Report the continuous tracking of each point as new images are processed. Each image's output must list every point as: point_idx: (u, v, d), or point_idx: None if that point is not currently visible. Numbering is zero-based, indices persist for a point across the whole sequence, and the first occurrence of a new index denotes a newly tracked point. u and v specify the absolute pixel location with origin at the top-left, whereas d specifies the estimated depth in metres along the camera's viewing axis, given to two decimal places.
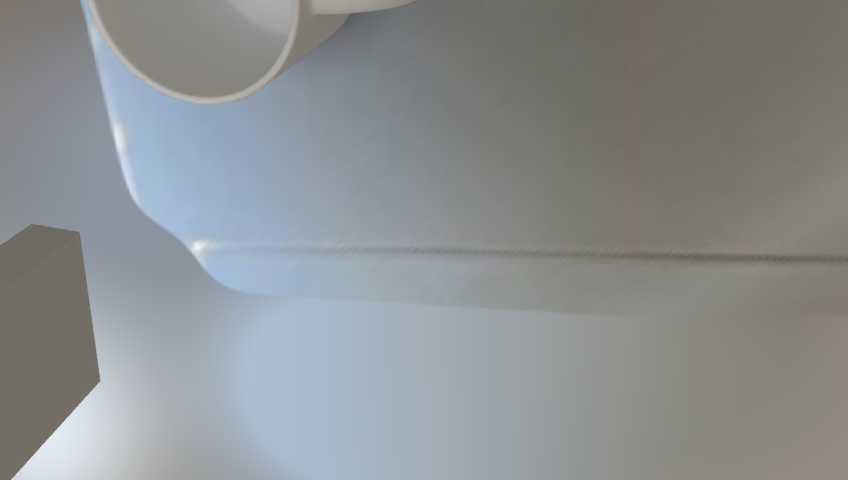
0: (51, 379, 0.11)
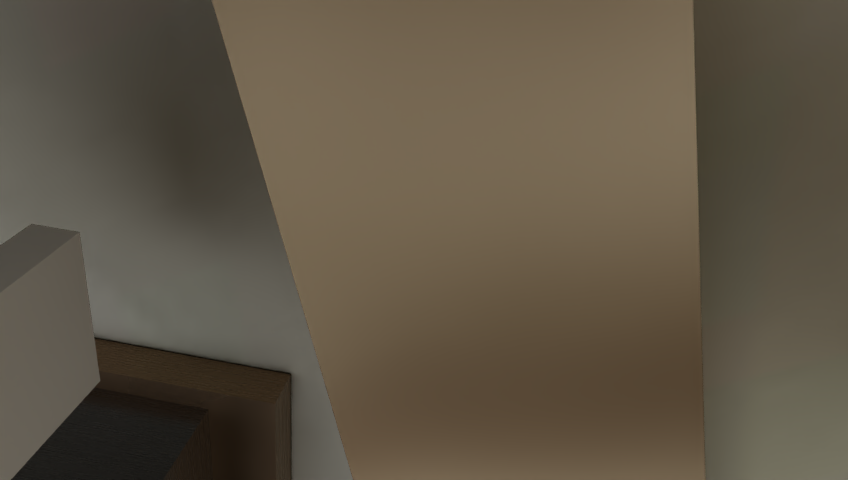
0: (51, 379, 0.11)
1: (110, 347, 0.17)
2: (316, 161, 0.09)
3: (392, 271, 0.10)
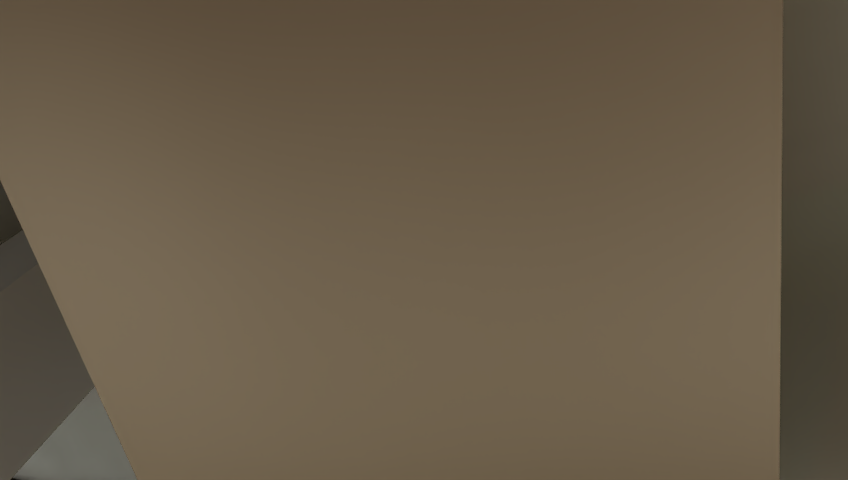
0: (50, 380, 0.11)
1: None
2: (175, 381, 0.06)
3: None
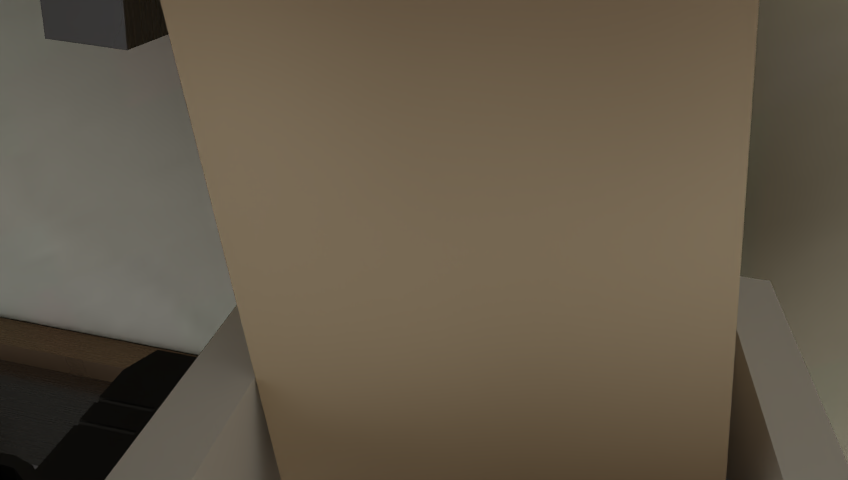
0: None
1: None
2: (292, 259, 0.08)
3: (372, 387, 0.08)
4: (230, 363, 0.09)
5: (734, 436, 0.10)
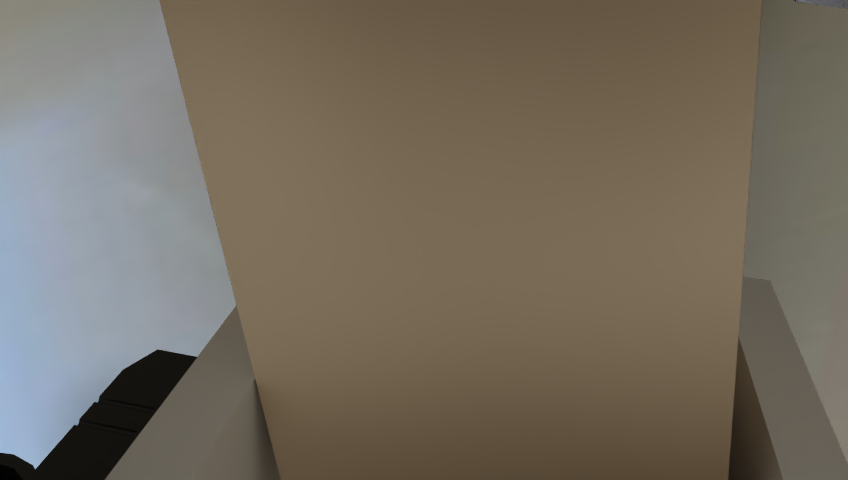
0: None
1: None
2: (292, 264, 0.08)
3: (373, 391, 0.08)
4: (230, 363, 0.09)
5: (734, 436, 0.10)
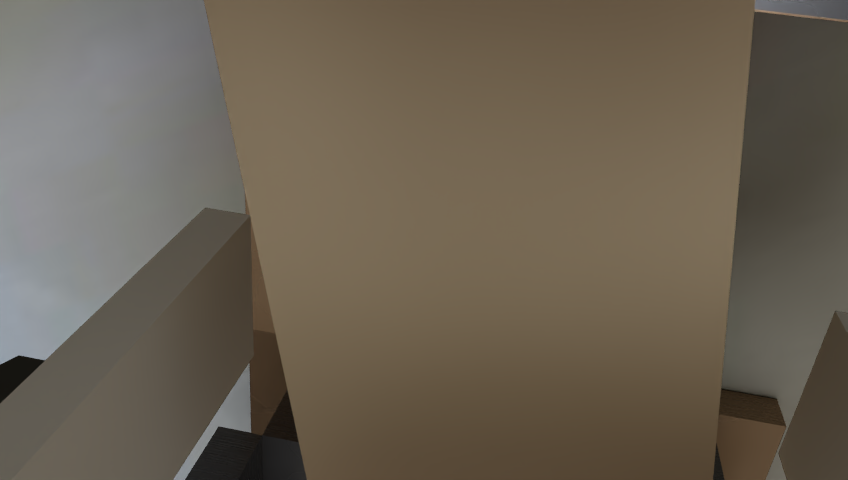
0: (226, 351, 0.12)
1: None
2: (314, 230, 0.08)
3: (388, 351, 0.09)
4: (74, 370, 0.08)
5: None
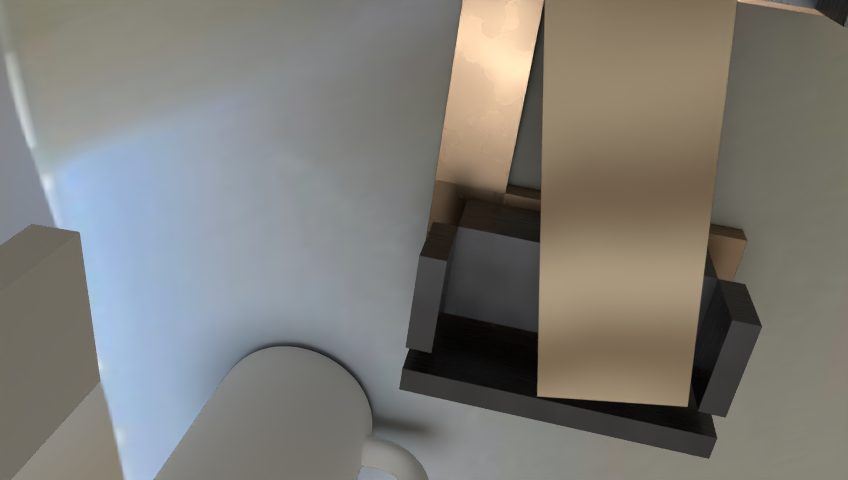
0: (51, 379, 0.11)
1: None
2: (569, 67, 0.22)
3: (589, 121, 0.22)
4: None
5: None
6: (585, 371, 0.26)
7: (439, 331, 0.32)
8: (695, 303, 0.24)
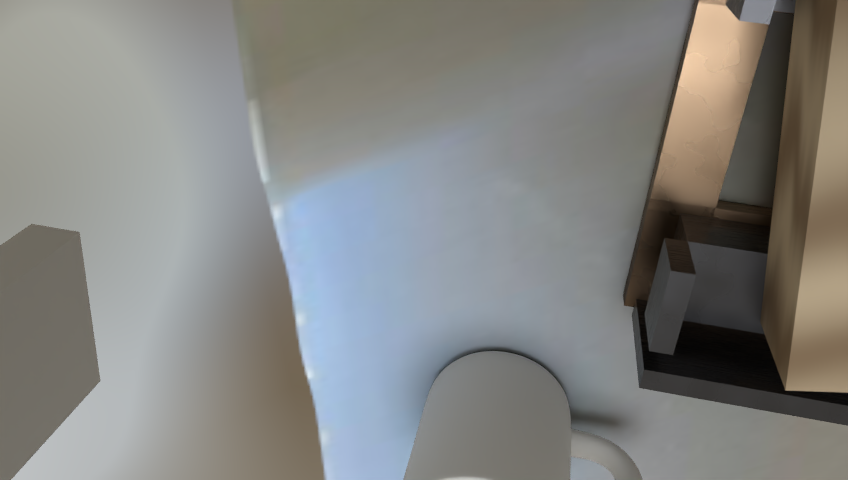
0: (51, 379, 0.11)
1: None
2: (846, 109, 0.25)
3: None
4: None
5: None
6: (833, 367, 0.30)
7: None
8: None
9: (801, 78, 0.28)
